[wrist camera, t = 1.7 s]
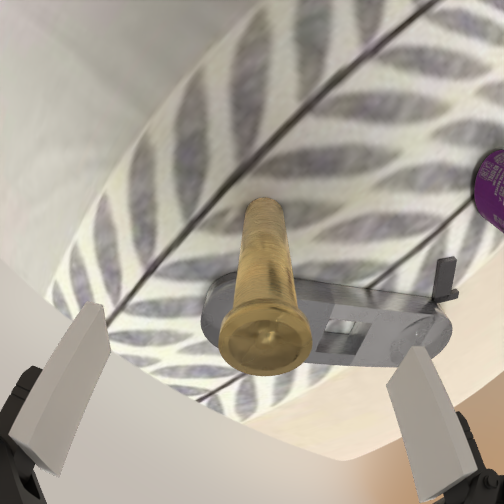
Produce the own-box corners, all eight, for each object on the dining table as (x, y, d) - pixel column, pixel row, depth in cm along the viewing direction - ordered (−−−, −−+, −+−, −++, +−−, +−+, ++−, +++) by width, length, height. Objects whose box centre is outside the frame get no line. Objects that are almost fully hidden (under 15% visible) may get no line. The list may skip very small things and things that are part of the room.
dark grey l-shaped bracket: (437, 259, 26) (440, 263, 25) (463, 254, 25) (465, 257, 25) (431, 300, 28) (433, 304, 28) (455, 295, 28) (457, 298, 27)
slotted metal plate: (209, 265, 27) (203, 284, 24) (451, 300, 28) (463, 317, 25) (203, 327, 30) (198, 348, 28) (422, 349, 32) (431, 367, 29)
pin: (244, 188, 23) (223, 304, 11) (292, 197, 24) (324, 318, 11) (236, 233, 25) (214, 369, 13) (283, 240, 25) (298, 379, 13)
